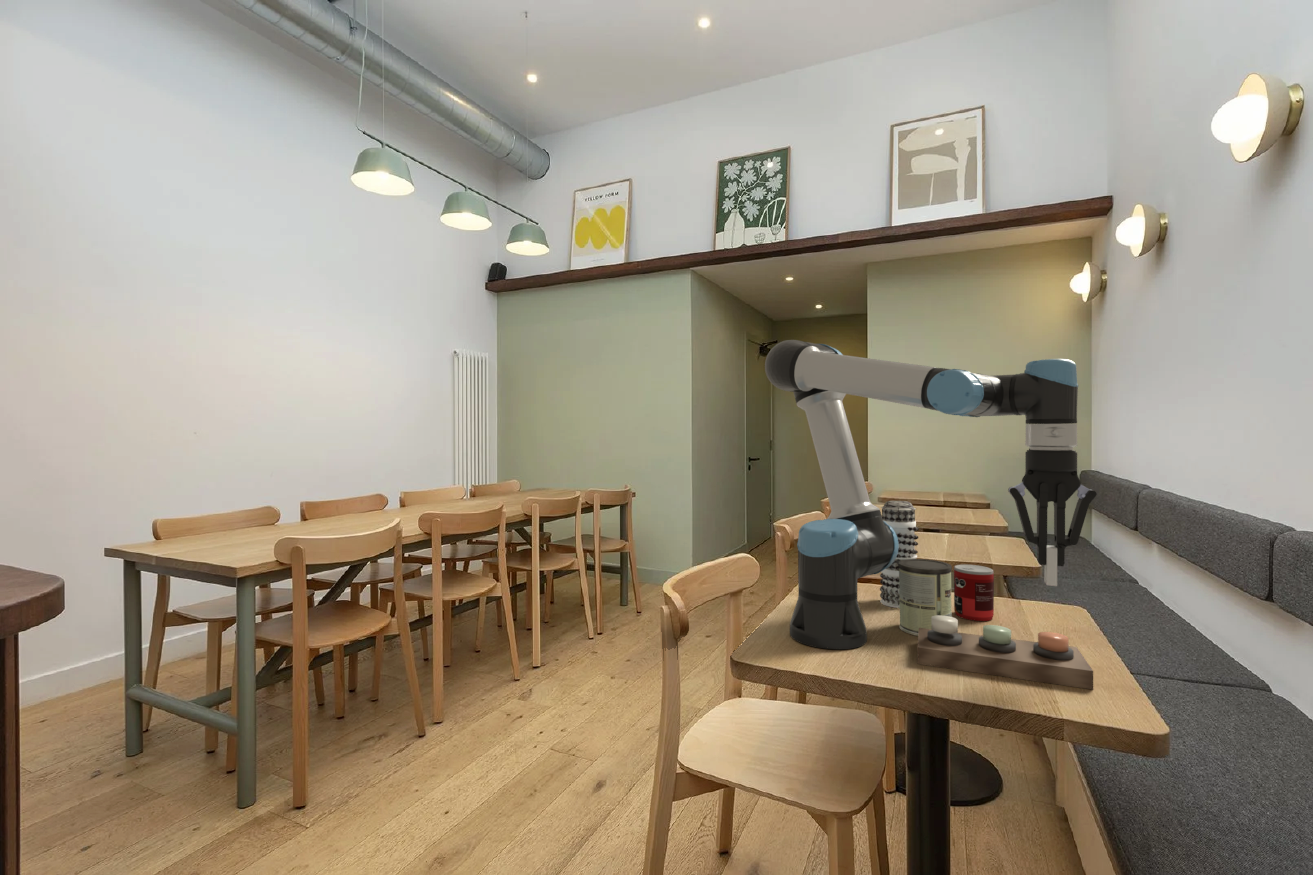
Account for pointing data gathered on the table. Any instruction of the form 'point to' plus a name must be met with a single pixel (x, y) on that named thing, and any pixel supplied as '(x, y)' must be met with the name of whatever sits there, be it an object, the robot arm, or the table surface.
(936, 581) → the coffee can
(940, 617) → the button cream
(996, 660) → the button panel
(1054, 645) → the button terracotta
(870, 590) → the table surface
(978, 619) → the canned food
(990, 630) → the button green
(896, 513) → the decorative candle
